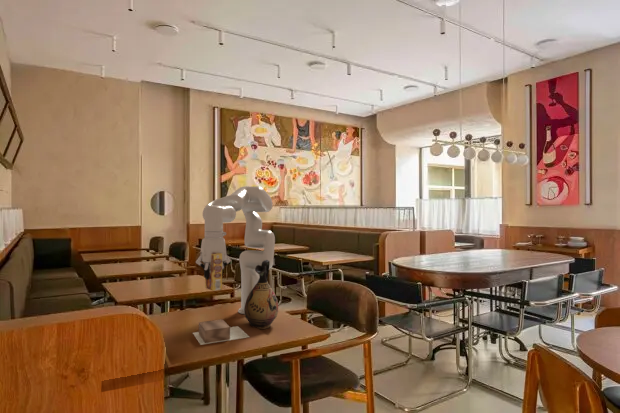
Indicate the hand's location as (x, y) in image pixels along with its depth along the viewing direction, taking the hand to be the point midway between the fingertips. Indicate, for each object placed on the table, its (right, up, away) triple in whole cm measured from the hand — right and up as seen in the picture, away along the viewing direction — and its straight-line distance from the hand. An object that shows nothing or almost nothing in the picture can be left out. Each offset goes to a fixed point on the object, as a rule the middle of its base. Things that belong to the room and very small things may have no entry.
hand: (213, 278), depth 166 cm
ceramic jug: (+18, -25, +16) cm, 35 cm away
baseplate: (+3, -25, 0) cm, 25 cm away
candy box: (0, -5, 0) cm, 5 cm away
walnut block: (+1, -24, -2) cm, 24 cm away
